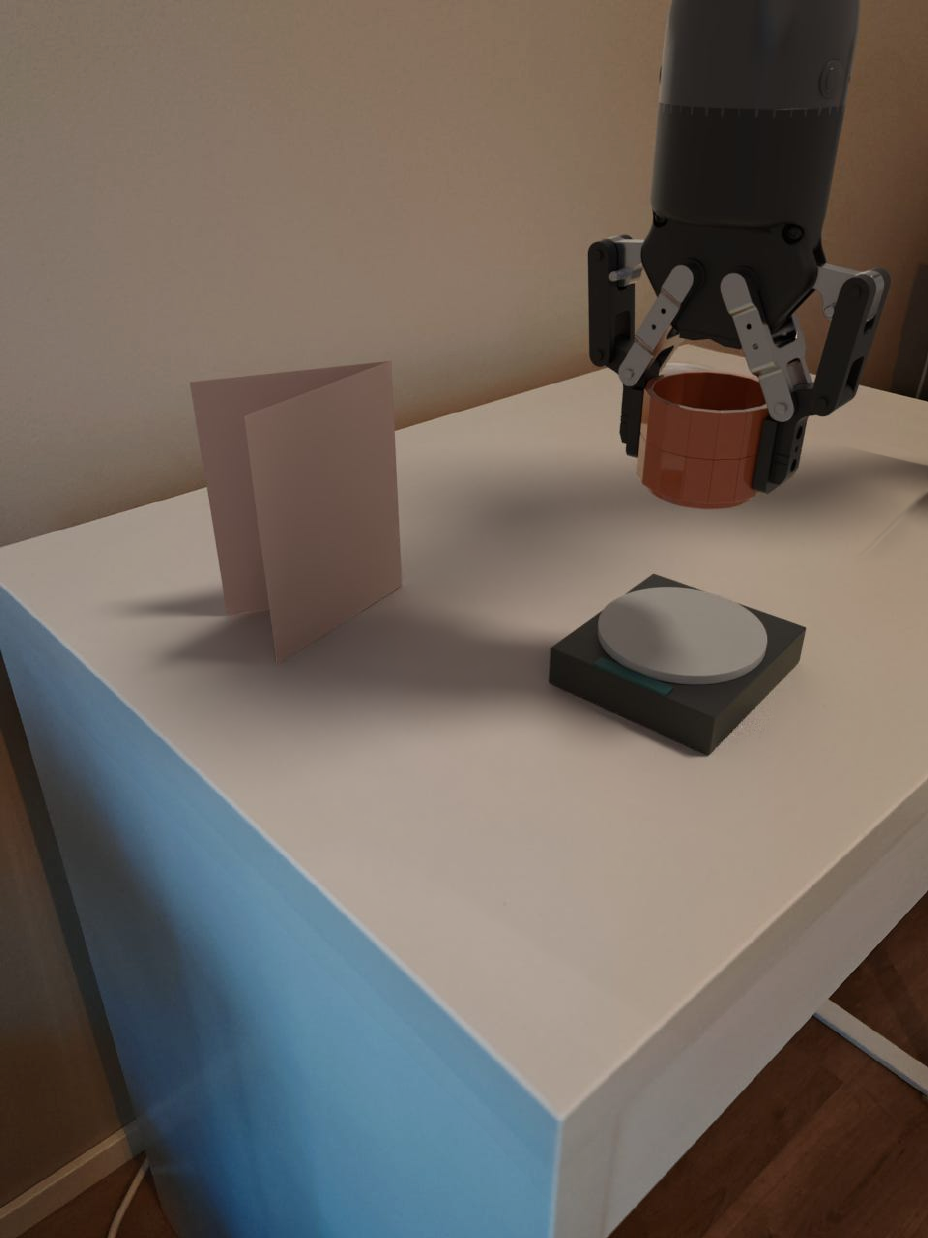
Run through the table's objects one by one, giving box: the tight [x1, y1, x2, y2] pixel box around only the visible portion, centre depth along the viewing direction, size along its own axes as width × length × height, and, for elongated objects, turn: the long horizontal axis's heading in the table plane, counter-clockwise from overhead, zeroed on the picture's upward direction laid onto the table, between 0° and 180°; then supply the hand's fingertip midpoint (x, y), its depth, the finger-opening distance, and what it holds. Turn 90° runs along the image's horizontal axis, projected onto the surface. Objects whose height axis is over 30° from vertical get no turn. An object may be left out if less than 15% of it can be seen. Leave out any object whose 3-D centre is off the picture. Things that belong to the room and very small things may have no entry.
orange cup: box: [635, 369, 770, 510], centre depth 48 cm, size 6×6×5 cm
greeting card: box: [189, 360, 403, 665], centre depth 56 cm, size 11×7×15 cm, turn 109°
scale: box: [548, 573, 807, 756], centre depth 54 cm, size 11×10×3 cm
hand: (701, 468), depth 49 cm, fingers closed on orange cup, 6 cm apart
